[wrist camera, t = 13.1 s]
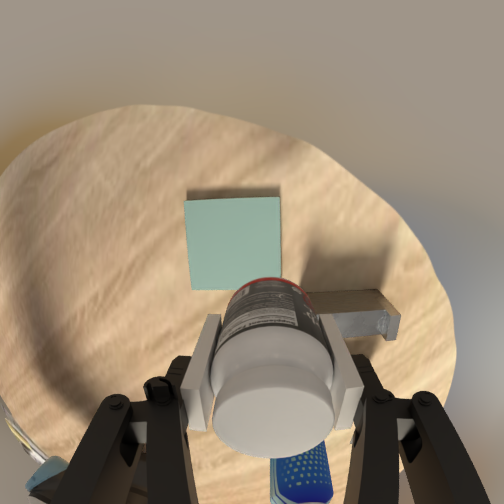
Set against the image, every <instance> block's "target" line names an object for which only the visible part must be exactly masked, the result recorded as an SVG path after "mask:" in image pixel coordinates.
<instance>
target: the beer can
mask: <svg viewBox="0 0 504 504" xmlns="http://www.w3.org/2000/svg"><path fill="white" fill-rule="evenodd" d="M332 497H333V487H332V481H331V475H330V469H329V464H328V458H327V453H326V447H325V442H324V440H323V441H322V442H321V443H320V444H318V445H317V446H315V447H314V448H312V449H310V450H308V451H306V452H303V453H301V454H298V455H294V456H290V457H284V458H270V502H271V504H329V502H330V501H331V499H332Z"/></svg>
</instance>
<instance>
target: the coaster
mask: <svg viewBox="0 0 504 504" xmlns="http://www.w3.org/2000/svg"><path fill="white" fill-rule="evenodd" d="M184 211H185V224H186V237H187V248H188V259H189V269H190V279H191V288H192V290H238V289H239V288H240V287H242V286H243V285H244V284H246V283H248V282H249V281H252V280H254V279H257V278H261V277H280V278H281V249H280V197H279V196H277V197H241V198H218V199H199V200H186V201H184Z"/></svg>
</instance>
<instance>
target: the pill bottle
mask: <svg viewBox="0 0 504 504" xmlns="http://www.w3.org/2000/svg"><path fill="white" fill-rule="evenodd" d="M210 379H211V386H212V390H213V392H214V395H215V397H216V401H215V405H214V411H213V417H212V423H213V428H214V431H215V433H216V435H217V436H218V437H219V439H220V440H221V441H222V442H223V443H225V444H226V445H227V446H228V447H230V448H232V449H233V450H235V451H237V452H240V453H242V454H245V455H249V456H253V457H259V458H284V457H290V456H294V455H298V454H301V453H303V452H306V451H308V450H310V449H312V448H314V447H315V446H317V445H318V444H320V443H321V442H322V441H323V440H324V439H325V438H326V437H327V436H328V435H329V433H330V432H331V430H332V428H333V426H334V422H335V412H334V408H333V403H332V397H331V393H330V389H331V386H332V382H333V365H332V360H331V356H330V353H329V351H328V348H327V345H326V342H325V339H324V336H323V334H322V331H321V328H320V325H319V322H318V319H317V316H316V313H315V311H314V308H313V305H312V303H311V301H310V299H309V297H308V296H307V294H306V293H305V292H304V290H303V289H302V288H300V287H299V286H298V285H297V284H295V283H293V282H291V281H289V280H287V279H284V278H280V277H261V278H257V279H254V280H252V281H249V282H248V283H246V284H244V285H243V286H242V287H240V288H239V289H238V290H237V291H236V292H235V293H234V295H233V296H232V298H231V300H230V302H229V304H228V307H227V310H226V313H225V317H224V321H223V325H222V328H221V332H220V335H219V339H218V343H217V347H216V350H215V354H214V358H213V361H212V367H211V374H210Z"/></svg>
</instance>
